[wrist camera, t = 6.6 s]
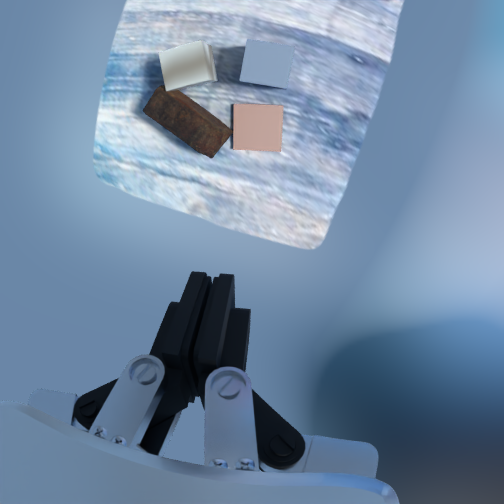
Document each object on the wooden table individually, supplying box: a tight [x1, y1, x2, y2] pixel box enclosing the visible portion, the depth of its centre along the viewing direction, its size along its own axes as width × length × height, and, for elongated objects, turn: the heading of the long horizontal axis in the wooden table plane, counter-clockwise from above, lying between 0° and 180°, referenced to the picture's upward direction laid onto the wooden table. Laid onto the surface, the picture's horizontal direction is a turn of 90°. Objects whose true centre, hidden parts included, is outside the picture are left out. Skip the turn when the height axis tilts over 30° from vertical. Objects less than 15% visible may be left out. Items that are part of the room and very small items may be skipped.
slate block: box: [240, 39, 295, 89], centre depth 26 cm, size 5×5×5 cm
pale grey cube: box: [159, 40, 218, 91], centre depth 26 cm, size 5×5×5 cm
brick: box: [143, 85, 233, 158], centre depth 30 cm, size 11×4×5 cm, turn 50°
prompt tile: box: [233, 104, 283, 152], centre depth 32 cm, size 6×6×1 cm
